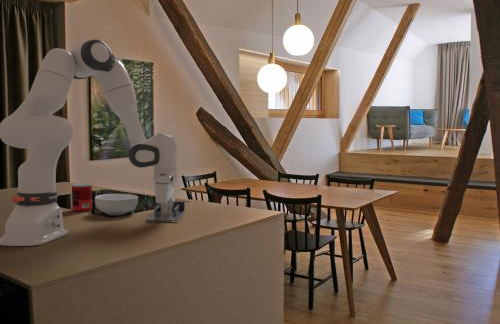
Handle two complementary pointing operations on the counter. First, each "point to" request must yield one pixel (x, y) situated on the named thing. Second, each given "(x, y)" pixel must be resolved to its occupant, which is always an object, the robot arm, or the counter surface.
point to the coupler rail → (159, 217)
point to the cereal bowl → (116, 203)
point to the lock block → (171, 206)
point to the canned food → (81, 197)
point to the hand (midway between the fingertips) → (165, 211)
